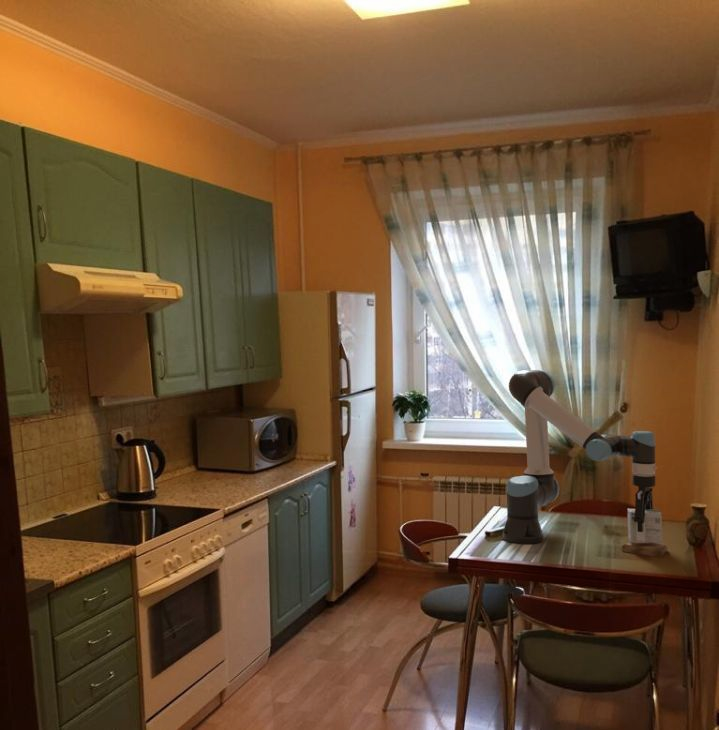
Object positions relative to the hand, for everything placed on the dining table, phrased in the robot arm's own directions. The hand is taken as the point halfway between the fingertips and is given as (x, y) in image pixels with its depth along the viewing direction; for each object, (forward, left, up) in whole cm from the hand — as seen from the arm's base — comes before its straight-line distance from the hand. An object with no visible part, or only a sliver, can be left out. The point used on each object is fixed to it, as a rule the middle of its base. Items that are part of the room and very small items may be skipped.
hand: (644, 537), depth 237 cm
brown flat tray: (0, 0, -5) cm, 5 cm away
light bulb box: (0, 0, -1) cm, 1 cm away
